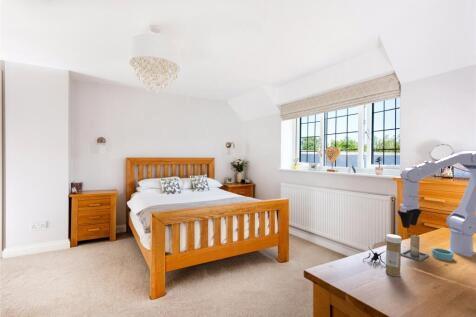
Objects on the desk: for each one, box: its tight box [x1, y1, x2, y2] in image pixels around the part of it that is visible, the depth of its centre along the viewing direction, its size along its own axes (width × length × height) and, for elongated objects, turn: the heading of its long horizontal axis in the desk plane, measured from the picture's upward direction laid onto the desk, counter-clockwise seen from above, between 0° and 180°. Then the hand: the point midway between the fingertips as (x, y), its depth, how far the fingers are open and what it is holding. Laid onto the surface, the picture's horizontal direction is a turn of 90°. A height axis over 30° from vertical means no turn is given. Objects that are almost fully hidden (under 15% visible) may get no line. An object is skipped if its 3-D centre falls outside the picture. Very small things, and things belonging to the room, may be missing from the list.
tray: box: [401, 248, 430, 262], centre depth 102 cm, size 9×7×1 cm
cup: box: [431, 247, 455, 262], centre depth 101 cm, size 7×7×3 cm
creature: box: [362, 247, 386, 269], centre depth 95 cm, size 8×5×8 cm
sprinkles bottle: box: [385, 233, 403, 277], centre depth 87 cm, size 5×5×14 cm
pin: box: [409, 234, 421, 257], centre depth 101 cm, size 3×3×8 cm
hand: (409, 226), depth 109 cm, fingers open, 7 cm apart
